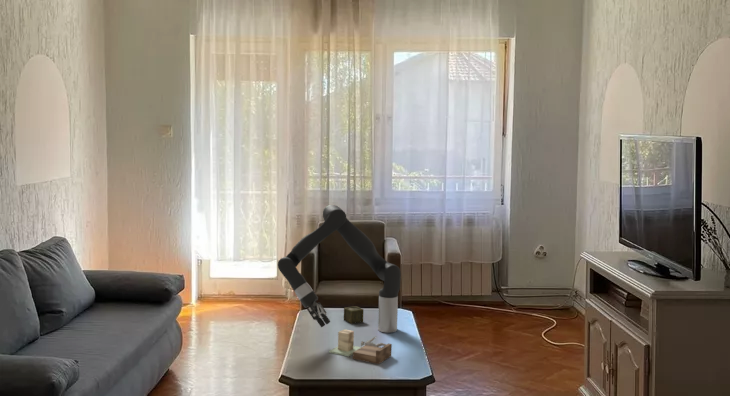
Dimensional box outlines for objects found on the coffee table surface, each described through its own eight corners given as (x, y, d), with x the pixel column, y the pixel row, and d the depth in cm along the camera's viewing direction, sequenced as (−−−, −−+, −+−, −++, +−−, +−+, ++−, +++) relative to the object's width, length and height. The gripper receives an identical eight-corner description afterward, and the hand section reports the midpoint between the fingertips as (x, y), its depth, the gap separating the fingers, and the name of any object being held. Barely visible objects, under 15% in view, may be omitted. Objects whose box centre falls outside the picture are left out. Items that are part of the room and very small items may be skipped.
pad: (342, 345, 330) (342, 343, 330) (362, 349, 325) (362, 347, 325) (329, 352, 319) (329, 350, 319) (349, 356, 314) (349, 354, 314)
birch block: (343, 346, 325) (344, 329, 324) (353, 348, 323) (353, 331, 322) (338, 349, 321) (338, 331, 320) (347, 351, 319) (348, 333, 318)
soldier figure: (386, 355, 320) (360, 346, 319) (383, 360, 324) (358, 351, 323) (390, 340, 325) (365, 331, 324) (387, 345, 329) (362, 336, 328)
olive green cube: (343, 321, 371) (344, 307, 371) (355, 319, 375) (356, 306, 375) (350, 325, 365) (351, 311, 365) (363, 323, 369) (363, 309, 368)
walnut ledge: (365, 351, 322) (366, 339, 321) (391, 356, 316) (391, 344, 315) (352, 358, 311) (353, 346, 311) (378, 364, 305) (379, 351, 305)
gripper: (308, 292, 322) (328, 322, 320) (316, 288, 336) (336, 317, 334) (294, 301, 323) (315, 331, 321) (304, 297, 337) (323, 326, 335)
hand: (326, 324), depth 328 cm, fingers open, 8 cm apart
